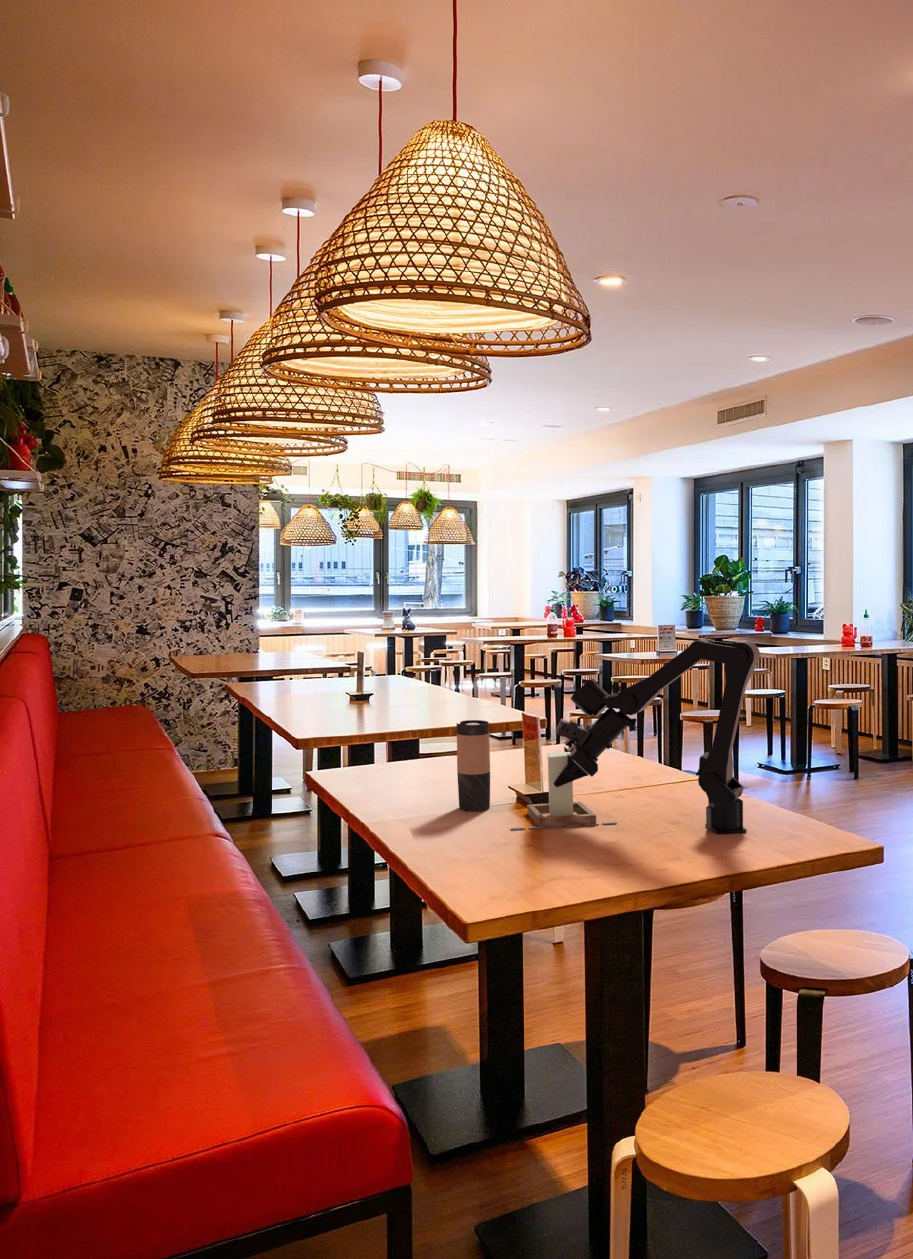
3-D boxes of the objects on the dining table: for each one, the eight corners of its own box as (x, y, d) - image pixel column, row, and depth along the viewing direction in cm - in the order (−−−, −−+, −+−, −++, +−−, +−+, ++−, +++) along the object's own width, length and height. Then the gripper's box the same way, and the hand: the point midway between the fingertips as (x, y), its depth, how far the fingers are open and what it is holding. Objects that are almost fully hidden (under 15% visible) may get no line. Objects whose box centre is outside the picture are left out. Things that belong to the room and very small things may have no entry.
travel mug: (496, 809, 216) (494, 723, 215) (465, 813, 213) (463, 726, 212) (483, 802, 223) (481, 719, 222) (453, 806, 220) (451, 721, 219)
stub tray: (580, 810, 214) (580, 801, 213) (596, 824, 201) (596, 815, 201) (527, 813, 212) (527, 804, 212) (539, 827, 200) (539, 818, 200)
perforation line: (615, 823, 202) (615, 821, 202) (616, 824, 201) (616, 822, 201) (510, 829, 199) (510, 827, 199) (511, 830, 198) (511, 828, 198)
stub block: (571, 809, 209) (570, 751, 208) (573, 815, 204) (571, 756, 203) (549, 809, 209) (547, 752, 208) (550, 816, 204) (548, 757, 203)
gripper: (573, 701, 214) (526, 750, 215) (581, 712, 196) (529, 766, 197) (608, 734, 215) (561, 783, 216) (619, 749, 196) (567, 802, 197)
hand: (554, 782), depth 206 cm, fingers closed on stub block, 5 cm apart
